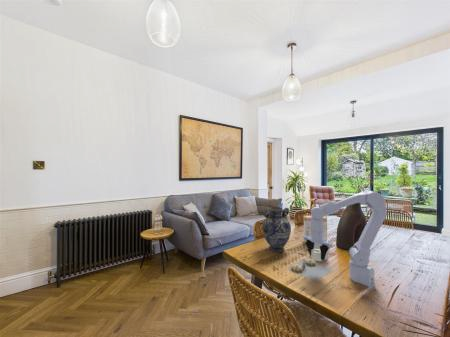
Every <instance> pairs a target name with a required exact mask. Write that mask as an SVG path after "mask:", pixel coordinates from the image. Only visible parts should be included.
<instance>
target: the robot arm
mask: <svg viewBox="0 0 450 337" xmlns="http://www.w3.org/2000/svg"><path fill="white" fill-rule="evenodd" d="M355 204H363V205H367V206H368V207H369V209H370V211H371V214H370V217H369V218H368V220H367V222H366V224H365V226H364V228H363V230H362V232H361V234H360V237H359V239H358V240H357V241H356V242H355V243H354V245H353V246H351V247H350V248H349V250H348V254H349V256H350V257H351V258H350V259H349V279H350V280H351V281H353V282H355V283H357V284H361V285H364V286H366V287H364V289H365V290H367V291H368V290H370V289H372V288H373V287H374V286H376V283H375V269H374V268H373V267H371V266H369V265H368V264H369V263H370V260H369V258H370V255H371V246H372V245H373V243H374V241H375V239H376V237H377V235H378V234H379V231H380V229H381V227H382V225H383V223H384V222H385V220H386V217H387V214H388V212H387V207H386V200H385V197H384V196H383V195H382V194H381V193H379V192H376V191H375V192H374V191H373V190H366V191H362V192H358V193H355V194H353V195H351V196H349V197H346V198H344V199H340V200H338V201H334V200H328V201H327V202H326V203H322V204H318V206H313V207H312V208H311V209H310V215H311V216H312V217H311V220H312V221H311V236H306V235H305V236H304V235H303V239H302V240H303V241H304V240H307V241H306V242H304V243H305V245H306V247H307V249H308V252H309V256H310V257H311V249H314V243H318V244H321V245H322V246H320V251H321V260H323V261H325V260H324V259H325V256H326V253H327V251H328V252H329V249H331V248H333V242H330V241H328V240H327V241H326V240H323V217H324V216H325V217H327V216H330V215H333V214H335V213H339V211H340V209H342V208H344V207H345V208H346V207H349V206H352V205H355Z"/></svg>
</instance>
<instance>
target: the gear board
mask: <svg viewBox="0 0 450 337" xmlns="http://www.w3.org/2000/svg"><path fill="white" fill-rule="evenodd" d="M301 258H302V261H299V262H297V263H294V264H291V265H290V266H288V267H286V269H288V270H290V271H292V272H294V273H296V274H298V275H300V276H303V277H304V278H307V279H309V280H311V281H313V282H315V281H318V280H320V279H322V278H323V277H326V276H327V275H328V274H330V273H333V272H334V269H331V268H329V267H327V266H323V265H321V264H319V263H317V261H315V260H313V259H312V258H306V257H301Z"/></svg>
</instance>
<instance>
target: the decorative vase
mask: <svg viewBox="0 0 450 337" xmlns="http://www.w3.org/2000/svg"><path fill="white" fill-rule="evenodd" d="M289 214H290V208H289V207H284V208H282V207H278V206H272V207H270V208H269V209H265V210H263V217H265V218H264V220H263V222H262V234H263V238H264V239H265V241H266V242H267V244H268V245H269V246H268V250H269V251H271V252H272V253H273V252H274V253H282V252H285V246H286V244H287V243H288V241H289V239H290V237H291V233H292V232H291V231H292V226H291V223H290V221H289V219H288V215H289Z"/></svg>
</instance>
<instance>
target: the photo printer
mask: <svg viewBox="0 0 450 337" xmlns="http://www.w3.org/2000/svg"><path fill="white" fill-rule="evenodd" d="M320 246H322V245H321V244H318V243H314V249H320ZM328 252H329V250H328V251H327V253H326V256H325V259H324V260H323V261H327V260H328V258H329V256H328V254H329V253H328Z"/></svg>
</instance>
